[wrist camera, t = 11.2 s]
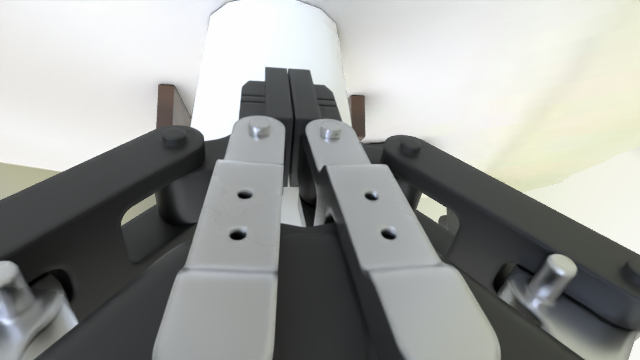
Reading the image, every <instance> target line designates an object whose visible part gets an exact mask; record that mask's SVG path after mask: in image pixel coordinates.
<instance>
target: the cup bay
mask: <svg viewBox="0 0 640 360" xmlns="http://www.w3.org/2000/svg"><path fill="white" fill-rule="evenodd" d="M348 105H349V111H350V118H351V125H352V128H353V129H354V131H355V133H356V135H357V137H358V139H359V141H361V140H362V139H363V138H364V137H365V98H364V96H351V97H350V98H349V100H348ZM191 121H192V119H191V117H190V115H189V113H188V111H187V109H186V108H185V106H184V104H183V102H182V100H181V98H180V96H179V94H178V92H177V90H176V88H175V87H174V86H173V85H159V86H158V105H157V124H156V128H157V129H158V128H161V127H165V126H172V125H182V126H189V127H190V126H191Z"/></svg>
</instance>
